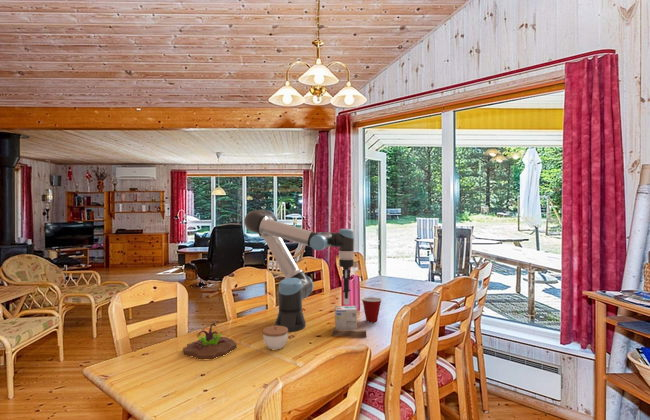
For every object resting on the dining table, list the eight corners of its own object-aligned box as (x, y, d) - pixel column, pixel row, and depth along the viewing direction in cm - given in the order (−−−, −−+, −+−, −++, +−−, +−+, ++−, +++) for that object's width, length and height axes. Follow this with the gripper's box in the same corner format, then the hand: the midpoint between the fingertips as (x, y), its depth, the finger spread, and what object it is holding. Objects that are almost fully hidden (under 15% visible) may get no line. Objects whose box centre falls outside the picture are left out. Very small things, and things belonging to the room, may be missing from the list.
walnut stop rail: (332, 335, 169) (332, 330, 169) (332, 334, 171) (332, 329, 171) (366, 337, 167) (366, 331, 167) (366, 335, 169) (366, 330, 169)
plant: (244, 347, 157) (244, 321, 157) (209, 364, 140) (209, 335, 140) (212, 338, 167) (212, 314, 167) (176, 353, 151) (175, 326, 150)
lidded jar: (264, 353, 149) (264, 331, 149) (261, 344, 159) (261, 323, 159) (290, 350, 152) (289, 328, 152) (285, 341, 162) (285, 320, 162)
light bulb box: (355, 326, 182) (355, 305, 182) (357, 331, 175) (357, 309, 175) (334, 326, 182) (334, 305, 181) (335, 331, 175) (335, 309, 175)
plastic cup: (381, 317, 196) (381, 295, 196) (382, 324, 185) (382, 301, 185) (361, 317, 197) (361, 295, 197) (361, 323, 186) (361, 300, 186)
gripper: (353, 260, 180) (353, 307, 180) (353, 256, 193) (353, 300, 193) (338, 260, 181) (338, 307, 181) (339, 256, 194) (339, 300, 194)
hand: (346, 304), depth 187 cm, fingers closed
